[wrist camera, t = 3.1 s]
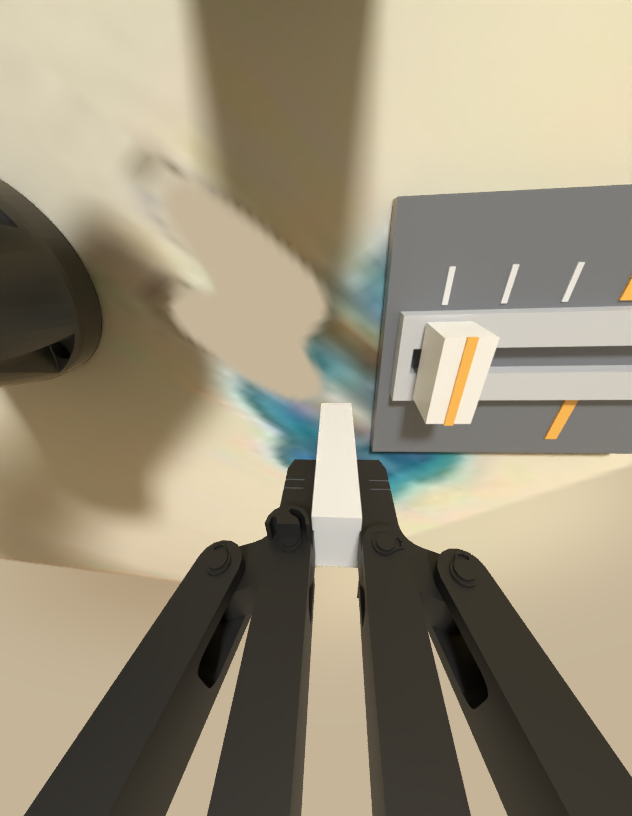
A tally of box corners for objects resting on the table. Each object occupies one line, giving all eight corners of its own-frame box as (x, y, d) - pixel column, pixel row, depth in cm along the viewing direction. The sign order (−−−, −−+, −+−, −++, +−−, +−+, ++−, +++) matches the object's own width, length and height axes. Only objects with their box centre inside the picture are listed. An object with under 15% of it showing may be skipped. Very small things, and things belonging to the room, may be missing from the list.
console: (370, 441, 28) (373, 459, 25) (393, 199, 17) (402, 193, 15) (616, 443, 26) (643, 462, 24) (811, 178, 16) (893, 167, 13)
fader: (408, 391, 22) (426, 425, 18) (421, 316, 19) (446, 338, 15) (445, 390, 22) (471, 425, 18) (464, 315, 19) (501, 337, 15)
